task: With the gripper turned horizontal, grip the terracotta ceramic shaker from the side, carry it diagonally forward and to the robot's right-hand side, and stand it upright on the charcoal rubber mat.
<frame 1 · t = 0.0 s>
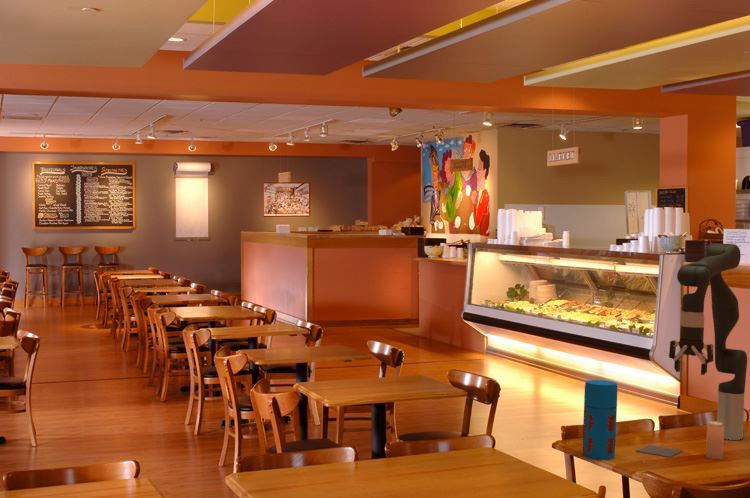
hand: (690, 373, 320), 29 cm above the table, tool pointing down, fingers open, 8 cm apart
charcoal mat: (659, 451, 331), on the table
thermos: (598, 456, 322), on the table
terracotta shaker: (714, 457, 325), on the table
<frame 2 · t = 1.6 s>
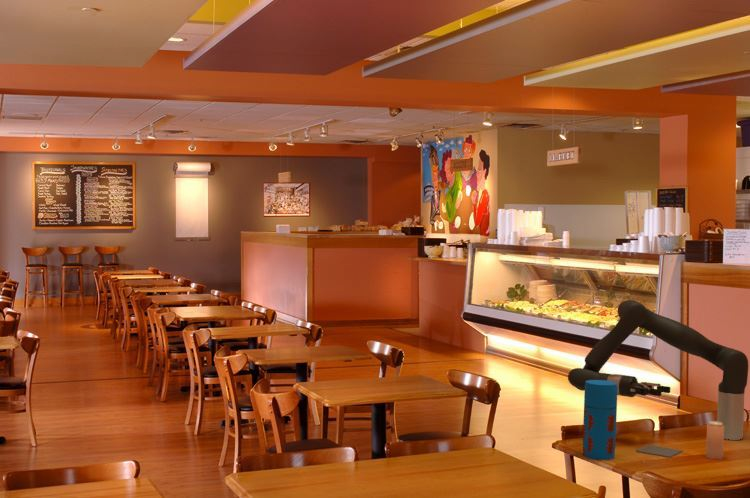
hand: (665, 391, 335), 20 cm above the table, tool horizontal, fingers open, 8 cm apart
nothing on the table moved.
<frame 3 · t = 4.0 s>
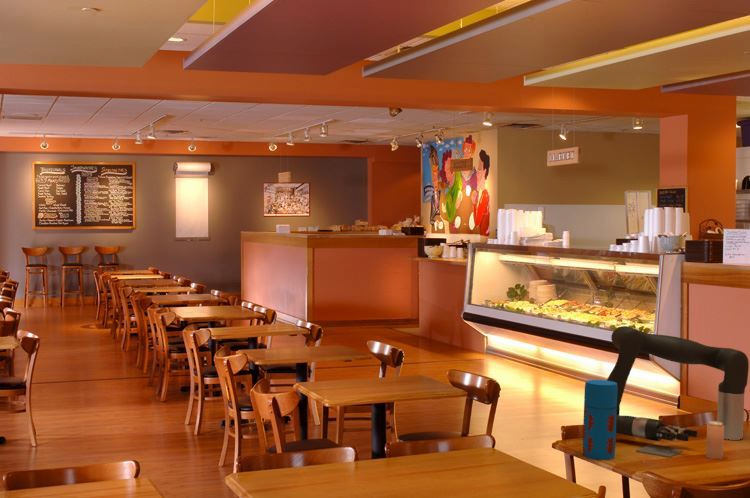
hand: (692, 436, 330), 6 cm above the table, tool horizontal, fingers open, 8 cm apart
nothing on the table moved.
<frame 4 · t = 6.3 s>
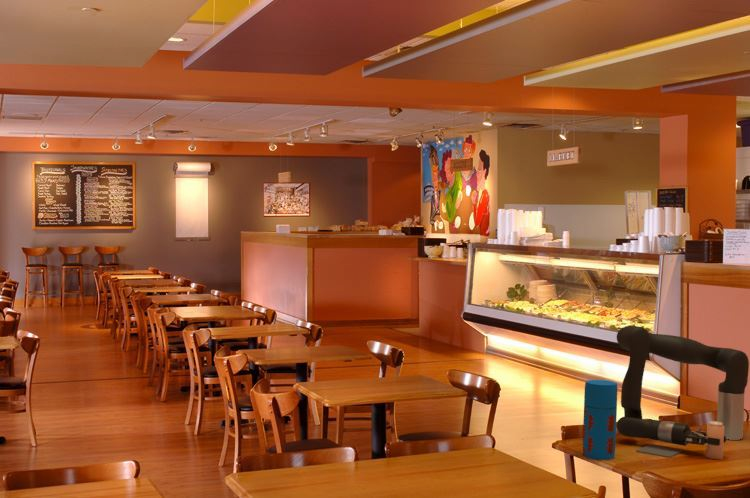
hand: (722, 440, 323), 6 cm above the table, tool horizontal, fingers closed on terracotta shaker, 5 cm apart
terracotta shaker: (714, 457, 325), on the table, touching gripper
everything else where it was.
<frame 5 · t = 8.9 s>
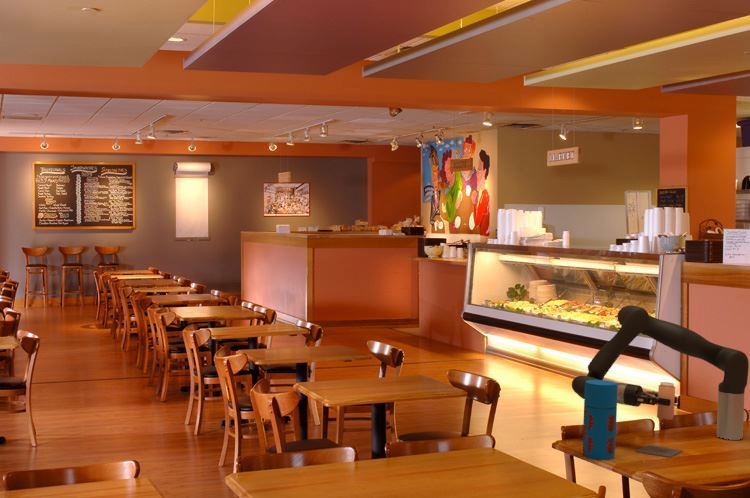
hand: (673, 401, 328), 18 cm above the table, tool horizontal, fingers closed on terracotta shaker, 5 cm apart
terracotta shaker: (665, 417, 330), point 12 cm above the table, touching gripper
everything else where it was.
when the fingers open (8 cm above the table, at t = 11.5 s): terracotta shaker drops 1 cm, resting on charcoal mat.
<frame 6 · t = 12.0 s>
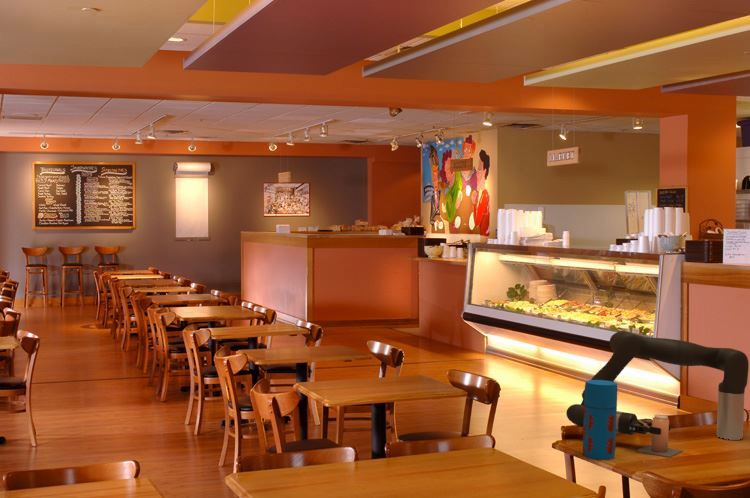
hand: (665, 429, 329), 8 cm above the table, tool horizontal, fingers open, 8 cm apart
terracotta shaker: (659, 450, 331), resting on charcoal mat
everything else where it was.
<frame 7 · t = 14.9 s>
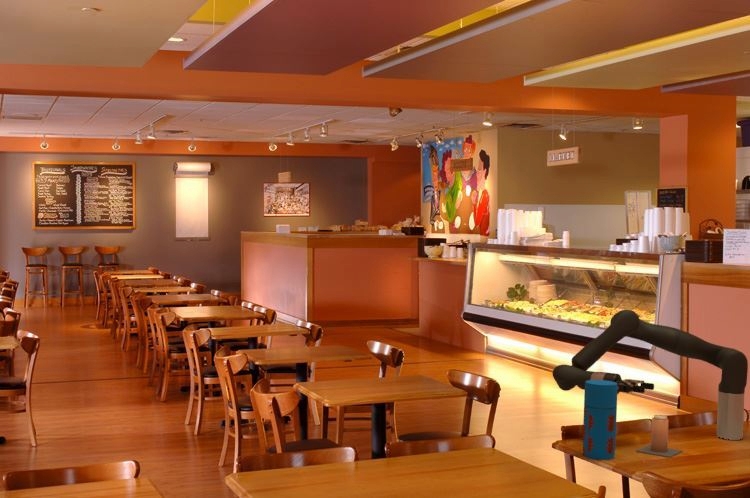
hand: (649, 388, 334), 21 cm above the table, tool horizontal, fingers open, 8 cm apart
nothing on the table moved.
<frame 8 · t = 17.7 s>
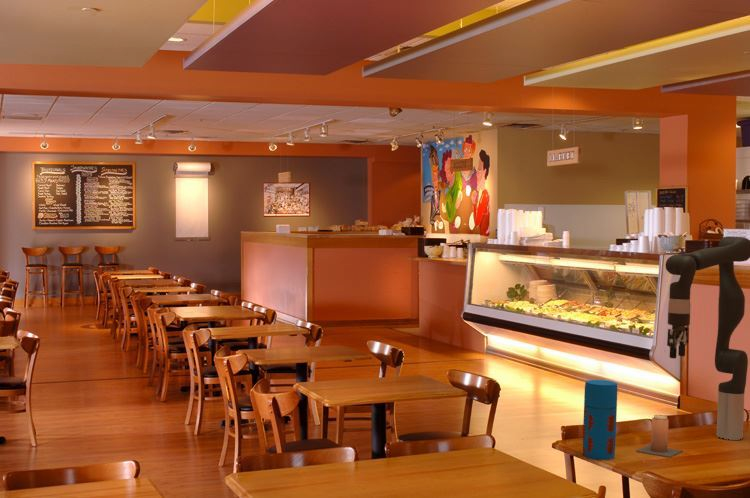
hand: (677, 357, 338), 32 cm above the table, tool pointing down, fingers open, 8 cm apart
nothing on the table moved.
at the end: terracotta shaker inside the target area on the charcoal mat (0.1 cm from its centre), point 0.4 cm above the charcoal mat's base; terracotta shaker tilted 0°; the gripper is holding nothing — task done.
